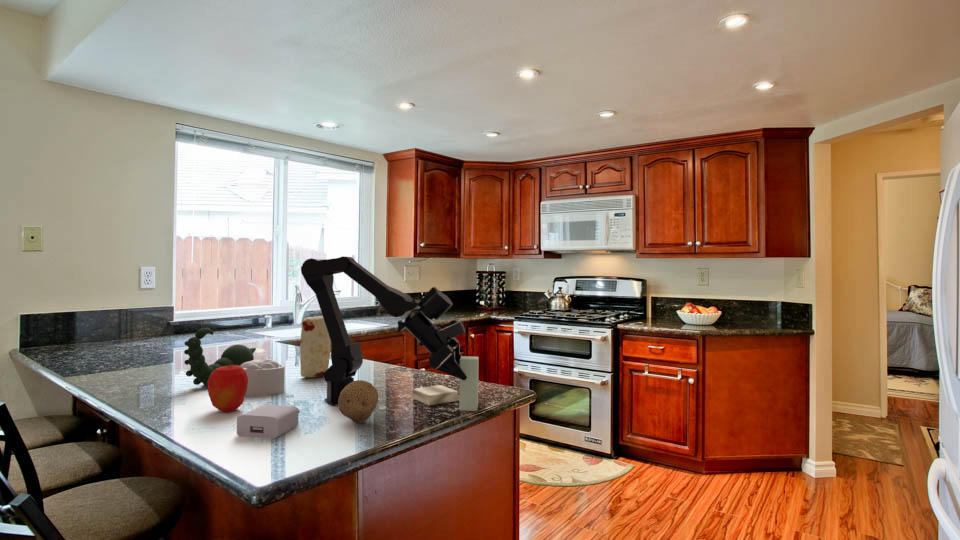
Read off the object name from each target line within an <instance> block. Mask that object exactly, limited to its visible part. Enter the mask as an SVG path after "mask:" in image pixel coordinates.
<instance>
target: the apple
mask: <svg viewBox="0 0 960 540" xmlns="http://www.w3.org/2000/svg"><path fill="white" fill-rule="evenodd" d="M229 364H230V363H229ZM207 385H208V386H207V392H208V393H207V395H208V397H209V399H210V401H211V405H212V406H213V407H214V408H216V409H217V410H219V411H220V412H221V413H231V412H235V411H237V410H238V409H239V408H240V407H241V406H242V405H243V403H244V400H245V398H246V396H247V395H246V392H247V387H248V376H247V372H246V371H245V370H244V369H243V368H242V367H241V366H239V365H228V366H223V367H219V368H216V369H215V370H214V371H213V372H212V373H211V374H210V377H209V379H208V382H207Z"/></svg>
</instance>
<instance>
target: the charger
mask: <svg viewBox="0 0 960 540" xmlns="http://www.w3.org/2000/svg"><path fill="white" fill-rule="evenodd" d="M300 413H301V411H300V409H299V407H297V406H295V405H282V404H281V405H280V404H263V405H261V406H258V407H256V408H254V409H251V410H249V411H247V412H245V413H243V414H240V415H238V416H237V418H236V435H237V436H238V437H243V438H244V437H246V438H257V439H258V438H260V439H276V438H277V439H278V437H280V436H282V435H284V434H286V433H287V432H288V431H291V430H292V429H294V428H295V427H297V426H298V425H299V414H300Z"/></svg>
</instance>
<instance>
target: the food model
mask: <svg viewBox="0 0 960 540" xmlns="http://www.w3.org/2000/svg"><path fill="white" fill-rule="evenodd" d="M331 348H332V343H331V340H330V337H329V334H328V331H327V328H326V325H325V322H324V318H323V315H317V316H308V317H307V318H303V319H302V322H301V331H300V348H299V349H300V354H299V356H300V357H299V360H300V361H299V362H300V376H301V377H302V378H319V377H324V376H323V373H324V372H325V371H326V370H327V369H328V368H329V367H330V366H329V365H330V359H331Z"/></svg>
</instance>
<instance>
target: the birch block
mask: <svg viewBox="0 0 960 540" xmlns="http://www.w3.org/2000/svg"><path fill="white" fill-rule="evenodd" d="M458 395H459V391H458V390H456V389H453V388H449V387H447V386H444V385H442V384H437V385H431V386H425V387H417V388H412V399H413V400H415V401H418V402H420V403H422V404H424V405H426V406H434V405H440V404H447V403H451V402H458V401H459V399H458V398H459V396H458Z"/></svg>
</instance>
